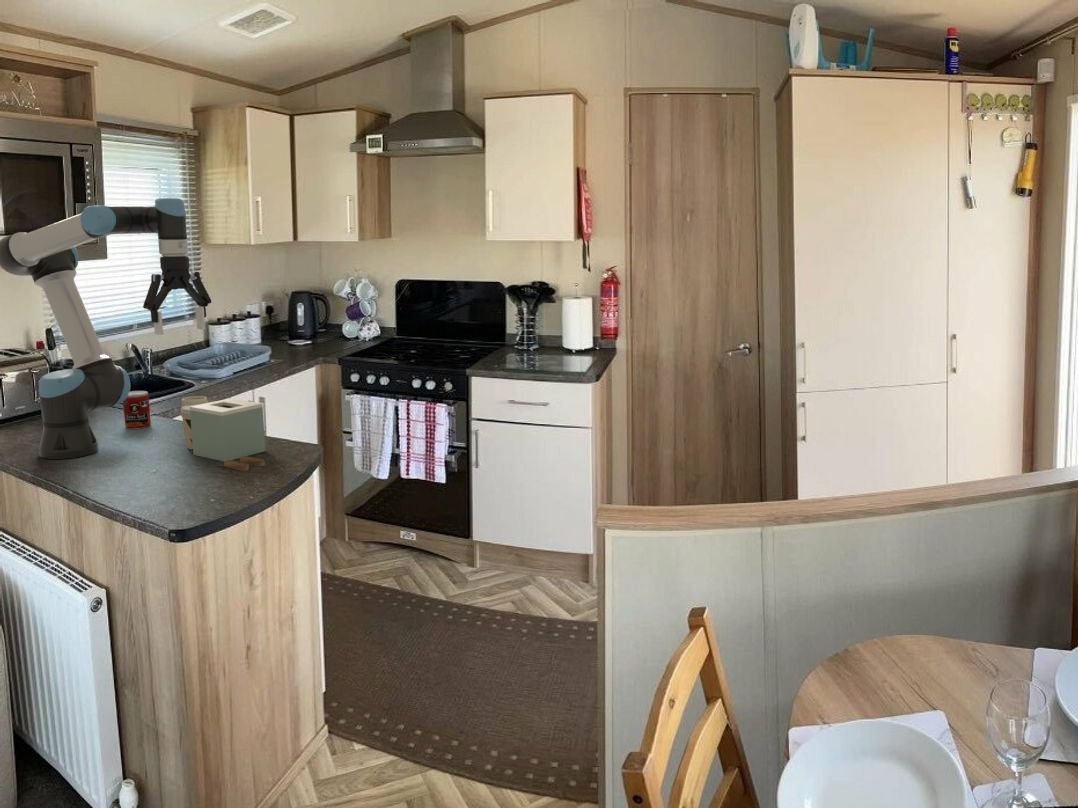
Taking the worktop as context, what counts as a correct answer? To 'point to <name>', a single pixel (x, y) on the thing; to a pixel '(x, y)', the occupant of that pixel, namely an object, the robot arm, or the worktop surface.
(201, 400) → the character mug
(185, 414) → the coffee cup
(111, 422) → the worktop surface
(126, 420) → the canned food
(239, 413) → the green cube box
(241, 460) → the holder
